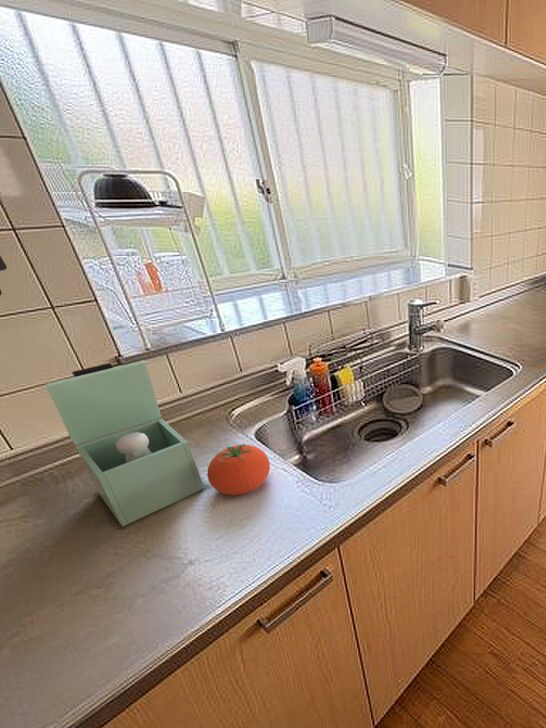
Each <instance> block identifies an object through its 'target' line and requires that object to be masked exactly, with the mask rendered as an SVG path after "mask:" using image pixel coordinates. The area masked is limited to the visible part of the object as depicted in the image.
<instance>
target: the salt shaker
mask: <svg viewBox="0 0 546 728" xmlns="http://www.w3.org/2000/svg"><path fill="white" fill-rule="evenodd" d="M148 444H149V439H148V437H147V436H146V435H145V434H143V433H138V432H136V433H130V434H126V435H124V436H122V437H120V438H119V439H118V440H117V442H116V447H117V449H118V451H119V452H120V453H123V454H125V457H126V463H128V462H131V461H133V460H136V459H138V458H141V457H144V456H146V455H149V454H152V453H151V451H150V450H149V449H148V447H147V446H148Z"/></svg>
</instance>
